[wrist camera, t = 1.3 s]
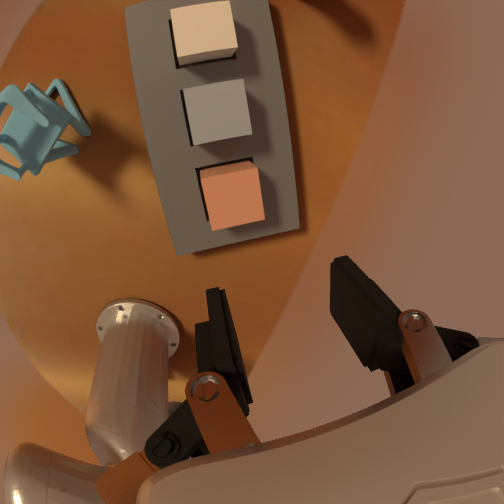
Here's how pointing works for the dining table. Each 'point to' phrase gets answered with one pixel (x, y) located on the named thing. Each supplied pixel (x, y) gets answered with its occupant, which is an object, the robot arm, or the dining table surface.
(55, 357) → the dining table surface
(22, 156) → the chair
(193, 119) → the slate button
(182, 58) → the cream button
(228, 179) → the terracotta button
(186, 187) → the button panel
